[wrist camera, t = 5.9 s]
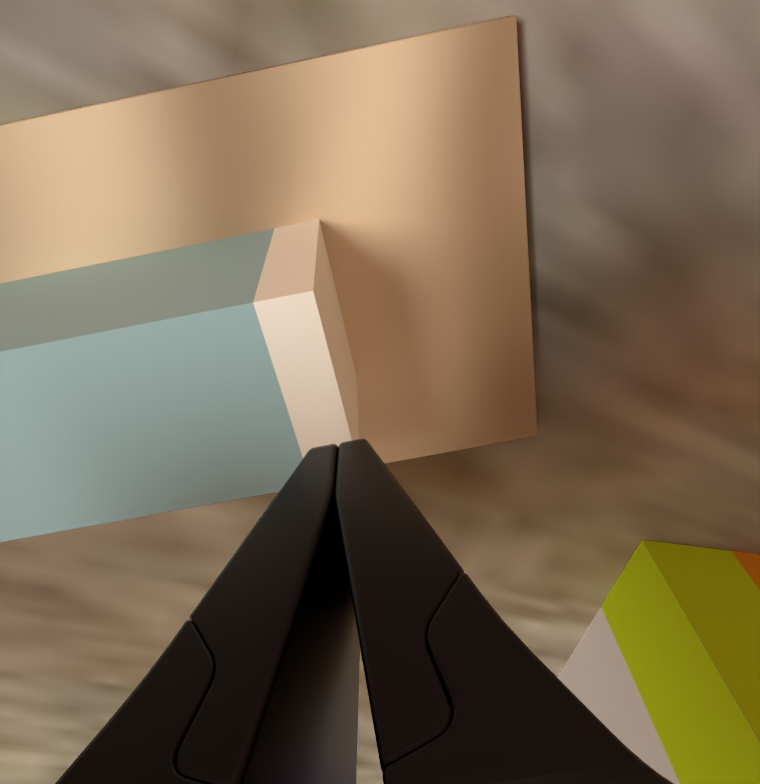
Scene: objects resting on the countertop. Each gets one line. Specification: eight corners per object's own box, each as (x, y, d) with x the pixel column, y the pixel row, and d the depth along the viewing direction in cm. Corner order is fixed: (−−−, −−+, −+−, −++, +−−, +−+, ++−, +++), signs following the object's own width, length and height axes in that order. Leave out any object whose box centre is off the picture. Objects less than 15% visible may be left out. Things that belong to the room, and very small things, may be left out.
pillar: (361, 476, 12) (-72, 555, 12) (355, 374, 15) (16, 438, 16) (313, 290, 10) (-210, 393, 10) (319, 219, 13) (-74, 297, 14)
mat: (510, 15, 12) (515, 16, 11) (533, 427, 17) (537, 435, 17) (-171, 160, 12) (-185, 165, 12) (57, 514, 18) (51, 524, 17)
